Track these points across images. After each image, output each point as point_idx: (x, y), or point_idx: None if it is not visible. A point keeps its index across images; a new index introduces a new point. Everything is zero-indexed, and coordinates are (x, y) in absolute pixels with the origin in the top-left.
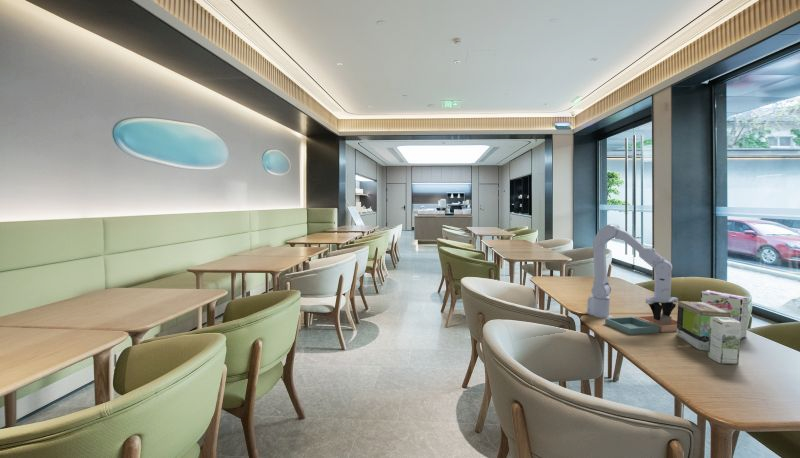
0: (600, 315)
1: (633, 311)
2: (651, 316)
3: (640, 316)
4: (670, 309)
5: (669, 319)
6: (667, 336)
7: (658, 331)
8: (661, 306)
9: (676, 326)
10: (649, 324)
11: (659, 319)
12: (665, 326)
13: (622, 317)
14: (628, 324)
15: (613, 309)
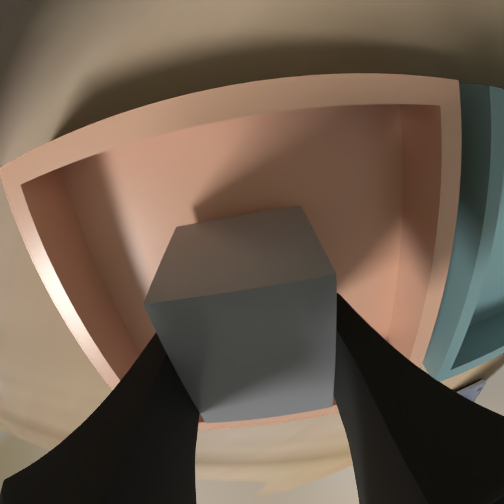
0: (471, 400)
1: (212, 472)
2: None
3: None
4: (115, 450)
5: (195, 271)
6: (406, 3)
7: None
8: (500, 478)
9: (196, 93)
10: (496, 192)
11: None
12: (407, 75)
13: (501, 352)
14: (484, 298)
15: (289, 479)
